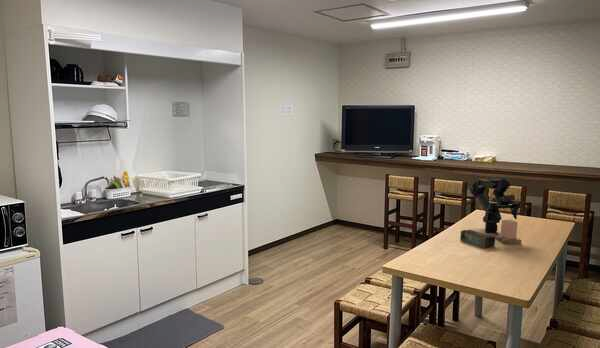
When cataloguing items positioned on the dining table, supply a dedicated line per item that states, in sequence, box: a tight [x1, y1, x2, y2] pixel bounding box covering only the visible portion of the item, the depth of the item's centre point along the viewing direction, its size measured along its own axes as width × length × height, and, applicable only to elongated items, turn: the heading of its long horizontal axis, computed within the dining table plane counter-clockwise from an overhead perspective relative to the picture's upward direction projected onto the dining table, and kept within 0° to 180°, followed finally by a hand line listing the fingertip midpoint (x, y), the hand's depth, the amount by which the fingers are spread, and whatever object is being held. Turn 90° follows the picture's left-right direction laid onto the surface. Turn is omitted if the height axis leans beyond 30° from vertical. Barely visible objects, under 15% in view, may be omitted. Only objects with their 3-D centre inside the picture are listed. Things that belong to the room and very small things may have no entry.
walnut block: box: [495, 234, 522, 245], centre depth 263 cm, size 10×10×3 cm
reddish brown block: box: [500, 219, 519, 239], centre depth 262 cm, size 6×6×10 cm
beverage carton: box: [459, 229, 496, 249], centre depth 260 cm, size 8×19×7 cm, turn 26°
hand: (508, 219), depth 263 cm, fingers open, 9 cm apart
